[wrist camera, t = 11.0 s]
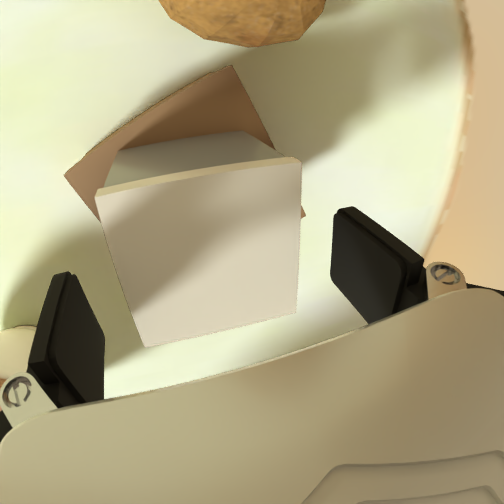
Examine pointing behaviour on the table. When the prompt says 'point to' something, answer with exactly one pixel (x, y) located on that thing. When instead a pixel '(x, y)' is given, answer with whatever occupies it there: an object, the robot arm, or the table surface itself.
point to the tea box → (173, 127)
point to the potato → (245, 19)
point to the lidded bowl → (15, 351)
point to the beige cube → (203, 233)
